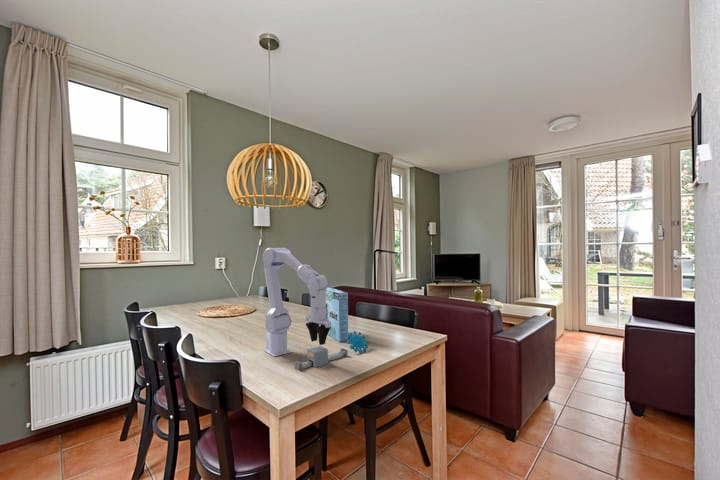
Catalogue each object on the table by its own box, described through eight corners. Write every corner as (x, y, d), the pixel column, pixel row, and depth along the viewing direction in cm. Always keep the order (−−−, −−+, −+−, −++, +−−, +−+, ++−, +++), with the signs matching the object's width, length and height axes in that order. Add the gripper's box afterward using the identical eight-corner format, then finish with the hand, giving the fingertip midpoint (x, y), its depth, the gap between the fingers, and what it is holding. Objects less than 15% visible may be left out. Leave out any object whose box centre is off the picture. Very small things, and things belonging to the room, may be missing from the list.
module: (307, 363, 121) (307, 349, 121) (320, 359, 125) (320, 345, 125) (314, 367, 117) (314, 352, 117) (327, 363, 121) (327, 349, 121)
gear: (351, 352, 129) (345, 330, 136) (345, 359, 132) (339, 337, 139) (374, 351, 135) (367, 330, 141) (367, 357, 138) (361, 337, 145)
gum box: (348, 340, 149) (348, 292, 149) (338, 342, 147) (338, 293, 147) (332, 330, 166) (332, 287, 167) (323, 332, 164) (323, 287, 164)
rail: (294, 368, 117) (294, 361, 117) (342, 354, 131) (342, 348, 131) (299, 370, 114) (299, 364, 114) (347, 356, 129) (347, 350, 129)
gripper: (299, 305, 124) (299, 340, 124) (320, 311, 114) (319, 349, 113) (314, 303, 129) (314, 336, 129) (335, 309, 118) (335, 345, 118)
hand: (318, 342), depth 122 cm, fingers open, 5 cm apart
